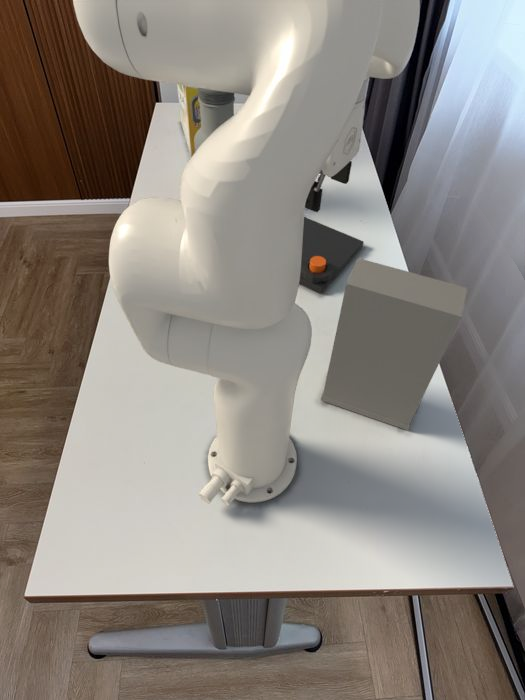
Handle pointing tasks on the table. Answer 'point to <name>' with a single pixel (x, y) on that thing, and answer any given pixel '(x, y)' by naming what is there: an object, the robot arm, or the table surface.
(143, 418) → the table surface
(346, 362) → the grey tall block
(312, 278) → the scale
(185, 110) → the game box
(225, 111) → the water bottle
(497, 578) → the table surface
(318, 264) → the tare button
